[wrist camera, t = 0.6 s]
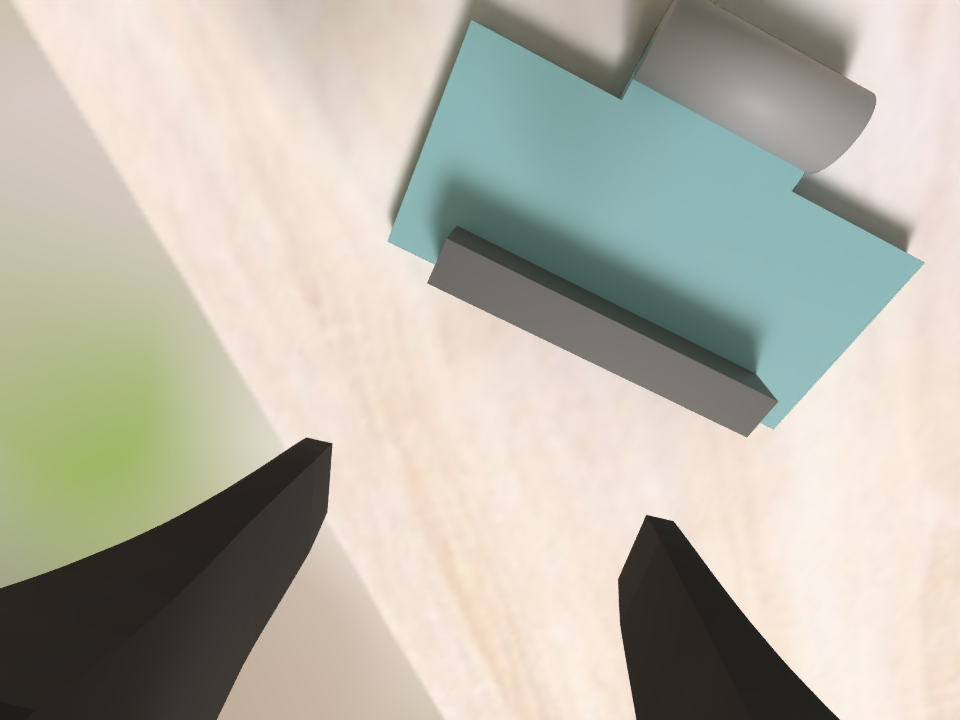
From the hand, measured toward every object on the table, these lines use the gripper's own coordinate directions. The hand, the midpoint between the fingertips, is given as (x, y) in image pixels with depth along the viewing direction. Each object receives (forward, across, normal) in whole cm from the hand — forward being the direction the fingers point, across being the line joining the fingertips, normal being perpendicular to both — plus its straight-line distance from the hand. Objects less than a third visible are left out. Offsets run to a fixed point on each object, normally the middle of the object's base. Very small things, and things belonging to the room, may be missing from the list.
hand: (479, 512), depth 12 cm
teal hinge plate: (+10, -4, -6) cm, 12 cm away
